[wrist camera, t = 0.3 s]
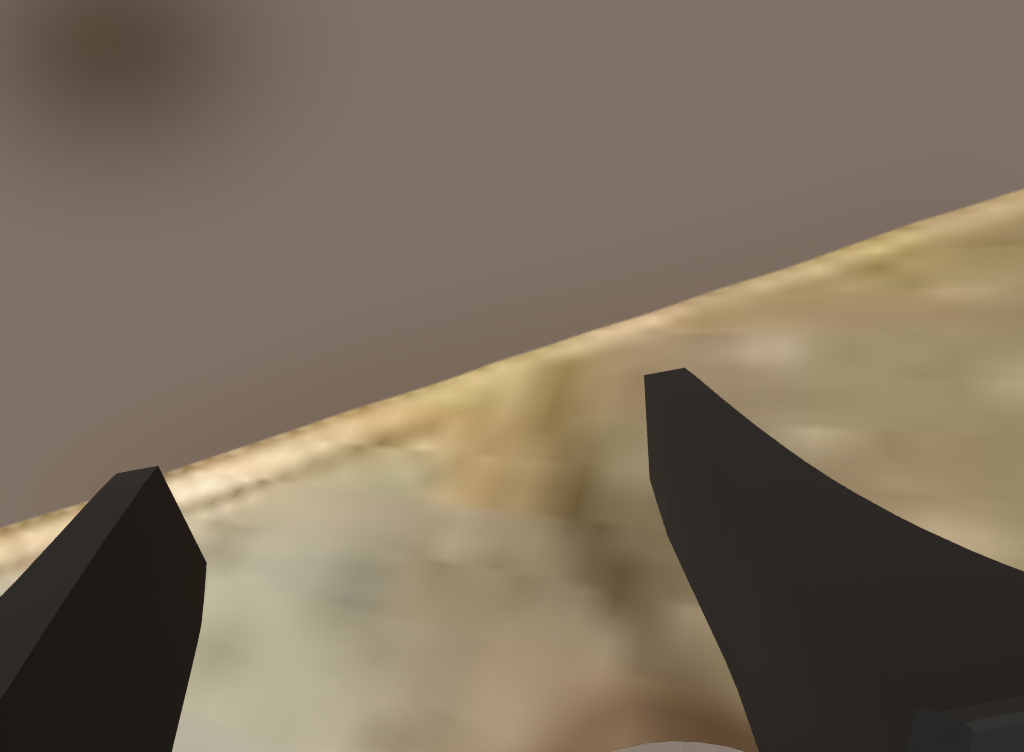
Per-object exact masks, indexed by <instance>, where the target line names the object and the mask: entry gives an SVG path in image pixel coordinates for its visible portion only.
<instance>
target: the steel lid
mask: <svg viewBox="0 0 1024 752" xmlns="http://www.w3.org/2000/svg"><path fill="white" fill-rule="evenodd" d="M612 752H744V751H741V750H738V749H734V748H731V747H726V746H720V745H714V744H708V743H702V742H682V741H668V742H656V743H645V744H640V745H636V746H631V747H626V748H622V749H618V750H615V751H612Z"/></svg>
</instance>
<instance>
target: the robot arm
mask: <svg viewBox="0 0 1024 752" xmlns="http://www.w3.org/2000/svg"><path fill="white" fill-rule="evenodd" d="M644 383H645V401H646V419H647V438H648V456H649V474H650V481H651V485H652V488H653V491H654V494H655V497H656V501H657V504H658V507H659V510H660V513H661V516H662V519H663V522H664V525H665V529H666V532H667V535H668V537H669V540H670V542H671V544H672V546H673V548H674V551H675V553H676V555H677V557H678V559H679V562H680V564H681V566H682V568H683V570H684V572H685V575H686V577H687V579H688V581H689V583H690V585H691V588H692V590H693V592H694V594H695V596H696V598H697V601H698V603H699V605H700V607H701V609H702V611H703V613H704V616H705V618H706V620H707V622H708V624H709V626H710V628H711V631H712V633H713V635H714V637H715V639H716V641H717V643H718V646H719V648H720V650H721V652H722V654H723V656H724V658H725V661H726V663H727V665H728V668H729V670H730V673H731V675H732V677H733V680H734V682H735V685H736V687H737V690H738V692H739V695H740V698H741V701H742V704H743V707H744V710H745V712H746V715H747V718H748V721H749V724H750V727H751V730H752V733H753V735H754V738H755V741H756V744H757V747H758V750H759V752H1024V571H1021V570H1018V569H1016V568H1013V567H1010V566H1007V565H1005V564H1002V563H1000V562H998V561H995V560H993V559H990V558H988V557H985V556H983V555H980V554H978V553H976V552H973V551H971V550H968V549H966V548H964V547H962V546H960V545H957V544H955V543H953V542H951V541H949V540H946V539H944V538H942V537H940V536H938V535H935V534H933V533H931V532H929V531H927V530H924V529H922V528H920V527H918V526H916V525H914V524H912V523H910V522H908V521H906V520H904V519H902V518H900V517H898V516H896V515H894V514H893V513H891V512H889V511H887V510H885V509H883V508H882V507H880V506H878V505H876V504H874V503H872V502H871V501H869V500H867V499H865V498H863V497H862V496H860V495H858V494H856V493H854V492H853V491H851V490H849V489H848V488H846V487H844V486H843V485H841V484H839V483H838V482H836V481H834V480H833V479H831V478H830V477H828V476H826V475H825V474H823V473H822V472H820V471H819V470H817V469H816V468H814V467H813V466H811V465H810V464H808V463H807V462H805V461H804V460H802V459H801V458H799V457H798V456H797V455H795V454H794V453H792V452H791V451H789V450H788V449H787V448H785V447H784V446H783V445H781V444H780V443H779V442H777V441H776V440H775V439H773V438H772V437H771V436H769V435H768V434H767V433H765V432H764V431H763V430H761V429H760V428H758V427H757V426H756V425H755V424H753V423H752V422H751V421H749V420H748V419H747V418H746V417H744V416H743V415H742V414H741V413H739V412H738V411H737V410H736V409H734V408H733V407H732V406H731V405H730V404H728V403H727V402H726V401H725V400H723V399H722V398H721V397H720V396H719V395H717V394H716V393H715V392H714V391H713V390H711V389H710V388H709V387H708V386H707V385H705V384H704V383H703V382H702V381H701V380H700V379H698V378H697V377H696V376H695V375H694V374H692V373H691V372H690V371H688V370H687V369H686V368H681V369H675V370H670V371H665V372H659V373H654V374H649V375H644ZM206 565H207V563H206V561H205V559H204V557H203V555H202V553H201V551H200V549H199V547H198V545H197V543H196V541H195V539H194V537H193V535H192V533H191V531H190V529H189V527H188V525H187V523H186V521H185V519H184V517H183V515H182V513H181V511H180V509H179V507H178V505H177V503H176V501H175V499H174V497H173V495H172V493H171V491H170V489H169V487H168V485H167V483H166V481H165V479H164V477H163V475H162V473H161V471H160V469H159V467H158V466H155V467H149V468H144V469H139V470H133V471H128V472H122V473H117V474H116V475H115V476H114V477H113V478H111V480H109V481H108V482H107V483H106V484H105V486H104V487H103V488H101V489H100V491H99V492H98V493H97V494H96V495H95V496H94V497H93V498H92V499H91V500H90V501H89V502H88V503H87V504H86V505H85V507H84V508H83V509H82V510H81V511H80V512H79V513H78V514H77V515H76V516H75V517H74V519H73V520H72V521H71V522H70V523H69V524H68V525H67V526H66V527H65V528H64V530H63V531H62V532H61V533H60V534H59V535H58V536H57V537H56V538H55V539H54V541H53V542H52V543H51V544H50V545H49V546H48V547H47V548H46V549H45V550H44V551H43V552H42V553H41V555H40V556H39V557H38V558H37V559H36V560H35V561H34V562H33V563H32V564H31V565H30V566H29V568H28V569H27V570H26V571H25V572H24V573H23V574H22V575H21V576H20V577H19V578H18V579H17V580H16V581H15V582H14V584H13V585H12V586H11V587H10V588H9V589H8V590H7V591H6V592H5V593H4V594H3V595H2V596H1V597H0V752H172V748H173V744H174V740H175V736H176V732H177V727H178V723H179V719H180V715H181V711H182V707H183V702H184V698H185V694H186V690H187V686H188V682H189V677H190V673H191V669H192V664H193V660H194V656H195V651H196V647H197V643H198V638H199V633H200V629H201V622H202V613H203V603H204V592H205V579H206Z"/></svg>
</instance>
